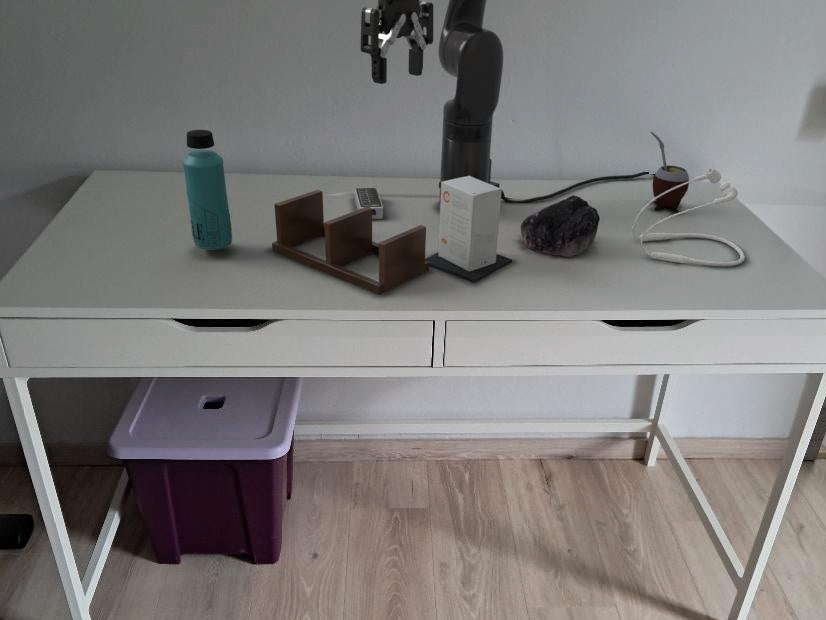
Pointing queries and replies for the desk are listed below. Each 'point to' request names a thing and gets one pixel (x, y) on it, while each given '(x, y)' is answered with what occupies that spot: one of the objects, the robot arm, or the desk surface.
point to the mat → (471, 276)
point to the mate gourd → (669, 184)
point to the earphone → (729, 195)
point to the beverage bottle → (206, 193)
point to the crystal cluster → (561, 227)
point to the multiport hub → (369, 201)
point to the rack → (348, 243)
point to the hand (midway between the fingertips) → (397, 78)
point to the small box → (469, 222)
